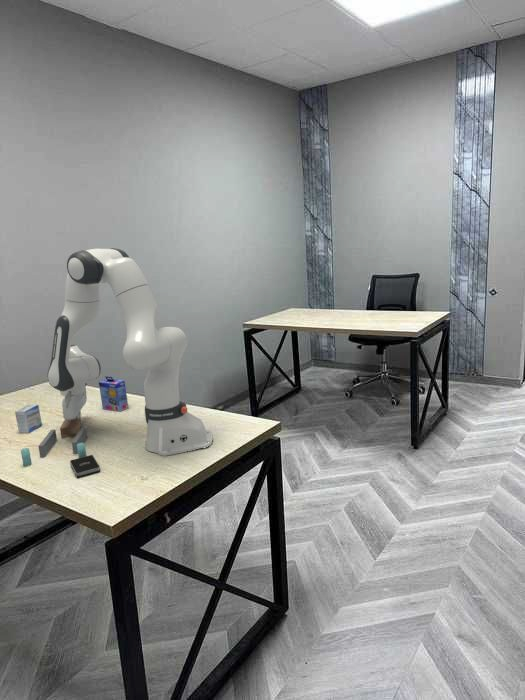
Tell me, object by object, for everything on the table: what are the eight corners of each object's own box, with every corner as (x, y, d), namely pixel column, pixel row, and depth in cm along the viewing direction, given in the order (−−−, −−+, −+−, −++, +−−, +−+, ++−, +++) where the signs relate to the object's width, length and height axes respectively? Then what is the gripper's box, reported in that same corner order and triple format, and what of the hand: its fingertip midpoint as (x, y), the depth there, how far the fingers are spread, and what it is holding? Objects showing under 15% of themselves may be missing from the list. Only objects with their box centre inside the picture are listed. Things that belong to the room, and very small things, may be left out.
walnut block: (82, 428, 181) (80, 418, 180) (79, 436, 174) (77, 426, 173) (65, 430, 180) (64, 420, 179) (61, 438, 173) (59, 428, 172)
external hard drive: (93, 460, 154) (92, 454, 154) (101, 473, 145) (100, 467, 144) (70, 466, 151) (69, 460, 150) (77, 480, 141) (76, 474, 141)
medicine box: (28, 433, 179) (25, 411, 177) (18, 433, 180) (14, 411, 178) (42, 425, 186) (38, 404, 185) (32, 425, 187) (28, 404, 185)
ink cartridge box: (101, 409, 201) (97, 376, 198) (111, 405, 206) (106, 372, 202) (119, 412, 196) (115, 378, 193) (129, 407, 201) (124, 374, 198)
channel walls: (87, 436, 172) (86, 426, 171) (78, 453, 159) (76, 442, 158) (52, 440, 171) (51, 429, 170) (40, 457, 157) (38, 446, 157)
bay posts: (87, 456, 156) (85, 442, 155) (85, 459, 154) (83, 445, 153) (24, 463, 154) (22, 448, 153) (22, 466, 151) (19, 451, 150)
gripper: (74, 395, 170) (79, 432, 173) (87, 379, 189) (92, 412, 192) (55, 397, 169) (61, 434, 172) (70, 381, 189) (75, 414, 192)
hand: (77, 422), depth 182 cm, fingers closed
